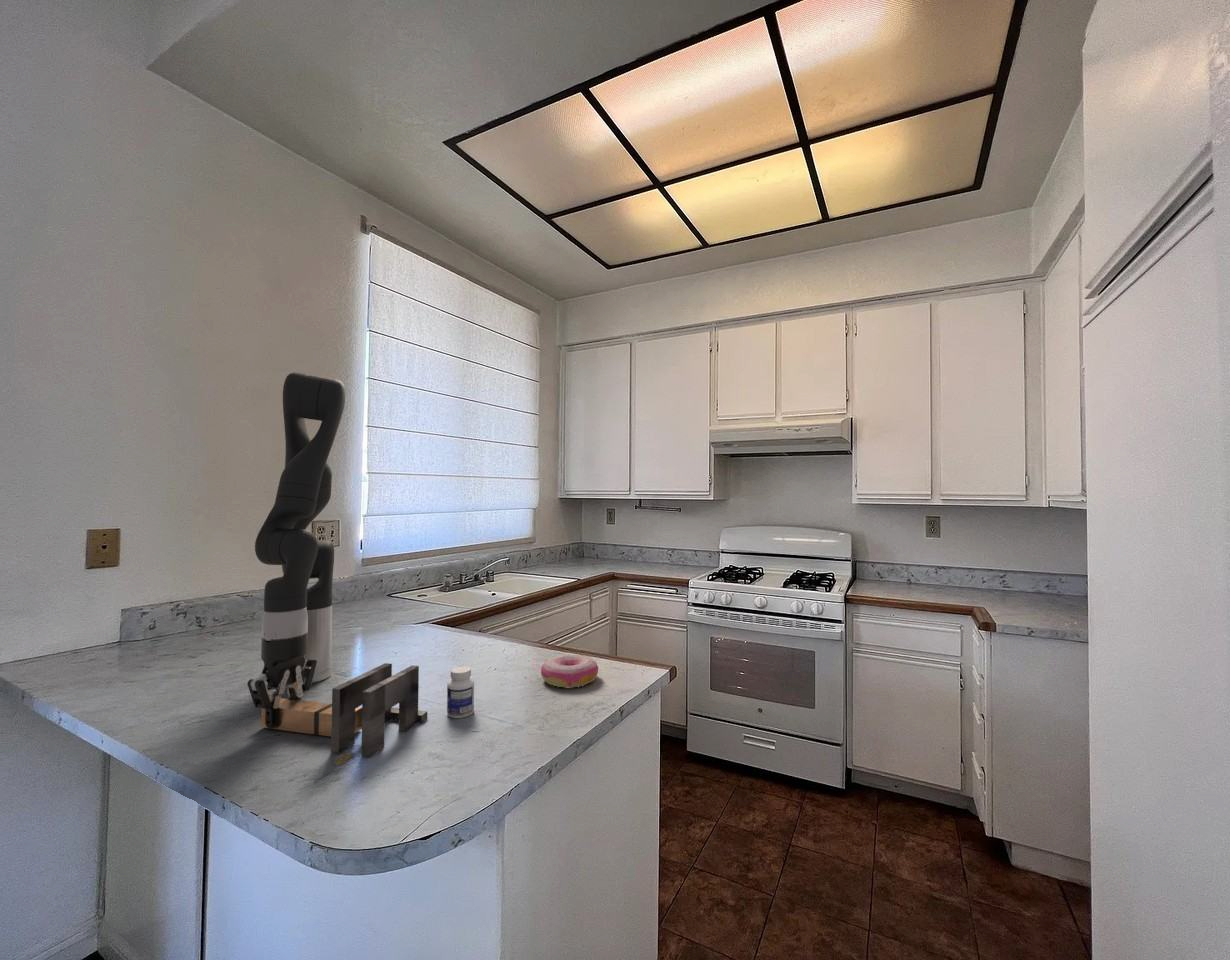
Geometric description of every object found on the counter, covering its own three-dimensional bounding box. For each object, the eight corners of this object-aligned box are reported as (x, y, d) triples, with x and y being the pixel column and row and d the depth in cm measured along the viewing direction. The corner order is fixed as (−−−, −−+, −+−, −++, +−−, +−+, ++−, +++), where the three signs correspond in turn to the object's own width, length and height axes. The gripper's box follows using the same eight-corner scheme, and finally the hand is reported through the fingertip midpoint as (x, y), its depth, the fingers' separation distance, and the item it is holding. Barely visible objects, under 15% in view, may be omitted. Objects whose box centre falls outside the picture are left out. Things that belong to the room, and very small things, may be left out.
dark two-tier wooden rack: (313, 761, 87) (314, 694, 87) (387, 714, 105) (388, 659, 106) (360, 768, 85) (361, 699, 85) (427, 719, 103) (428, 663, 104)
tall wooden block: (260, 727, 99) (261, 705, 99) (279, 718, 103) (279, 697, 103) (346, 738, 94) (346, 715, 94) (361, 728, 98) (362, 707, 98)
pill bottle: (450, 708, 108) (450, 665, 109) (476, 707, 109) (476, 664, 109) (444, 719, 103) (444, 674, 103) (471, 718, 104) (471, 673, 104)
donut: (530, 685, 122) (530, 664, 122) (559, 668, 134) (560, 649, 134) (580, 695, 116) (580, 672, 116) (606, 676, 128) (606, 656, 128)
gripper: (299, 622, 108) (297, 705, 108) (234, 640, 94) (232, 736, 94) (329, 624, 106) (328, 709, 106) (268, 643, 93) (266, 741, 92)
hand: (283, 721), depth 100 cm, fingers closed on tall wooden block, 4 cm apart
